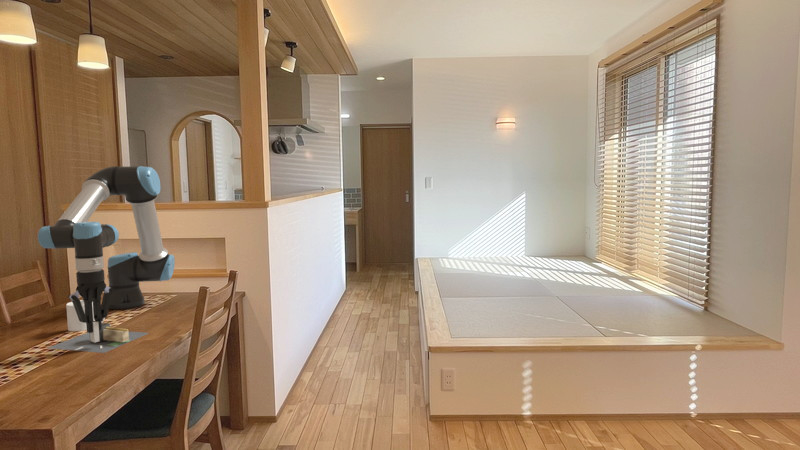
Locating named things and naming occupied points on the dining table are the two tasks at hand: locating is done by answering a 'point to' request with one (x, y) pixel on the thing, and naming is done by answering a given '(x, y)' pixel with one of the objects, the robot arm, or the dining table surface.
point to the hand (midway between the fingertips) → (95, 341)
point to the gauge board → (85, 345)
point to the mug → (76, 318)
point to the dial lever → (112, 334)
